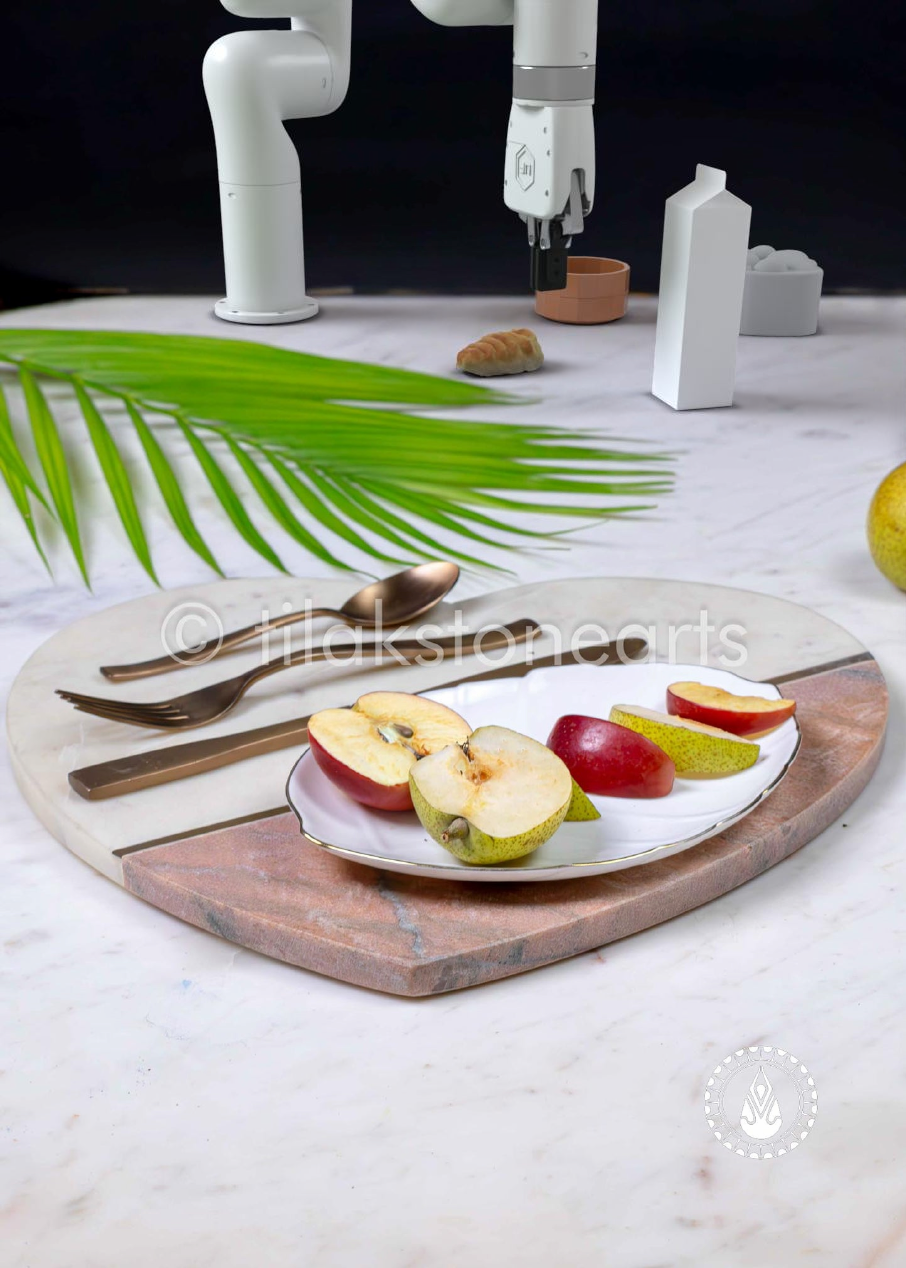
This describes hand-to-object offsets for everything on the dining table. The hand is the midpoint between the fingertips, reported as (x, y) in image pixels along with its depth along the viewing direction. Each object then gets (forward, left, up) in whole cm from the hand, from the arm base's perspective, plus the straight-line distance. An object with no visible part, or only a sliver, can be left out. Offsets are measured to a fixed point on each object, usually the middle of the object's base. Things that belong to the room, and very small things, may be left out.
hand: (548, 288), depth 133 cm
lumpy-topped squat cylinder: (-14, +37, -11) cm, 41 cm away
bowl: (-27, +20, -10) cm, 35 cm away
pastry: (-9, 0, -11) cm, 14 cm away
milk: (+9, +12, -11) cm, 18 cm away
